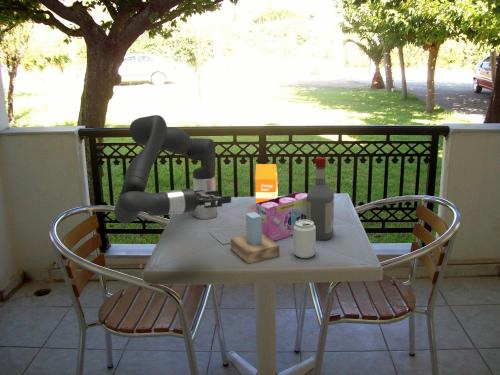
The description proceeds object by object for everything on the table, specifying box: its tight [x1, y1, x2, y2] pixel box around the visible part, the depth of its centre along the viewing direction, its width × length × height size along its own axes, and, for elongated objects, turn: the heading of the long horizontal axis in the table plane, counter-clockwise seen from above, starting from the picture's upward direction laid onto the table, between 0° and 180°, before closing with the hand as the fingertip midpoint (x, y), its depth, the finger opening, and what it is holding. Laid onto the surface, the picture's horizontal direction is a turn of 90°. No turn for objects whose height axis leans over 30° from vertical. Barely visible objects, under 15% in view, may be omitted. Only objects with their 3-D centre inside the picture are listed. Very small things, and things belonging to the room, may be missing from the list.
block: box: [245, 211, 262, 245], centre depth 179 cm, size 4×5×10 cm
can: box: [293, 220, 317, 259], centre depth 177 cm, size 8×8×12 cm
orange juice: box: [254, 163, 279, 204], centre depth 224 cm, size 8×9×20 cm
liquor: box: [306, 156, 335, 242], centre depth 190 cm, size 9×9×30 cm
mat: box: [208, 224, 247, 246], centre depth 198 cm, size 14×14×1 cm
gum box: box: [255, 190, 308, 242], centre depth 198 cm, size 24×8×14 cm, turn 124°
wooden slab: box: [230, 234, 280, 265], centre depth 181 cm, size 12×14×4 cm
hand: (224, 196), depth 171 cm, fingers open, 8 cm apart
